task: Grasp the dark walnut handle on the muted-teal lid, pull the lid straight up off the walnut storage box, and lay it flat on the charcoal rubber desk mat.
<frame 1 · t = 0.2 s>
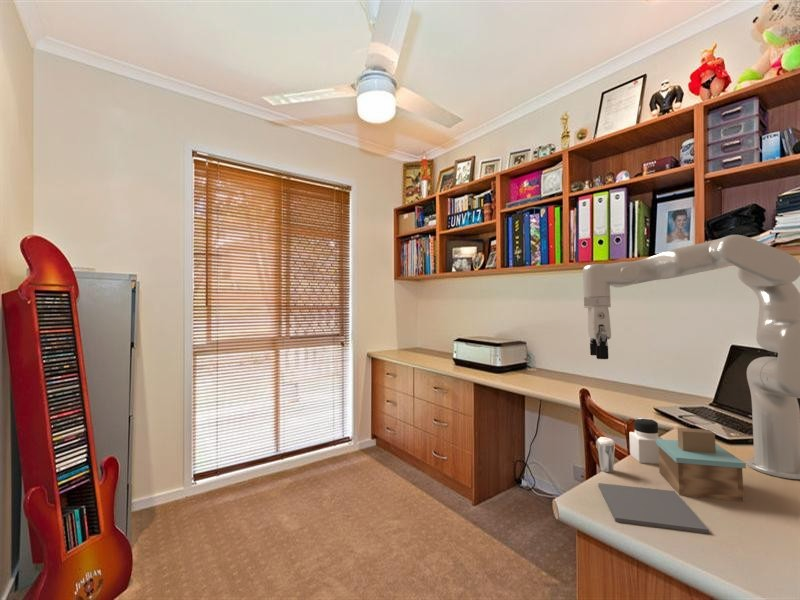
hand: (599, 357, 118), 31 cm above the table, tool pointing down, fingers open, 9 cm apart
lid: (696, 454, 97), point 8 cm above the table, touching storage box
storage box: (698, 486, 96), on the table
desk mat: (646, 507, 87), on the table
medicine bottle: (647, 459, 114), on the table
milkshake: (605, 471, 107), on the table
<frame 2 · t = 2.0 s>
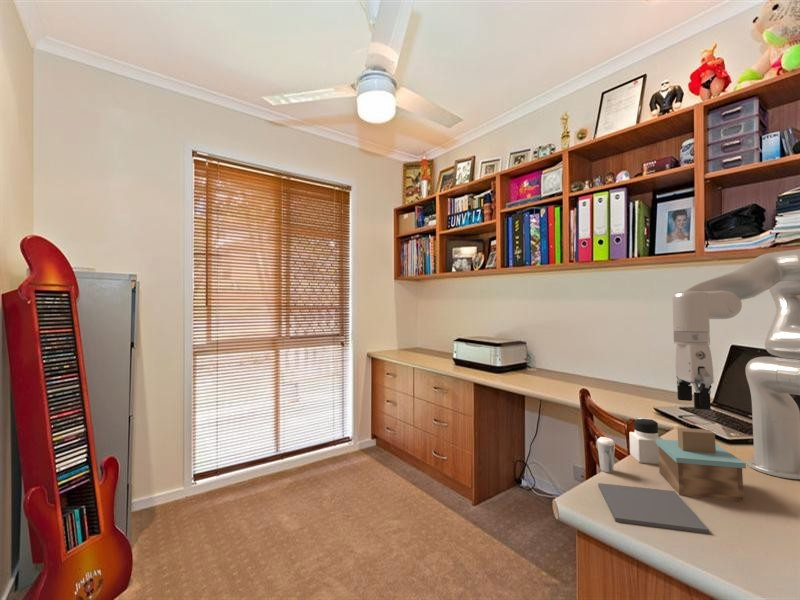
hand: (693, 404, 97), 21 cm above the table, tool pointing down, fingers open, 9 cm apart
nothing on the table moved.
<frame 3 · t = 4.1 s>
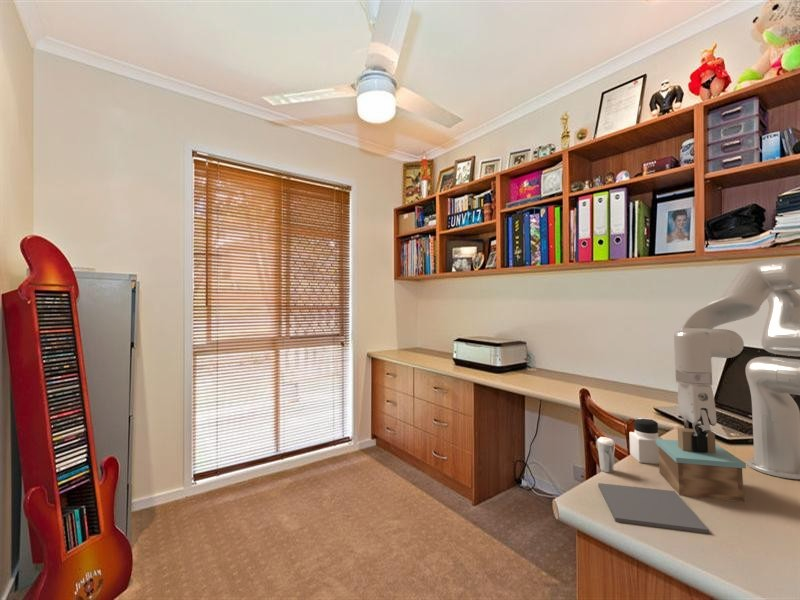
hand: (696, 448, 97), 10 cm above the table, tool pointing down, fingers closed on lid, 3 cm apart
lid: (696, 454, 97), point 8 cm above the table, touching gripper, storage box
everything else where it was.
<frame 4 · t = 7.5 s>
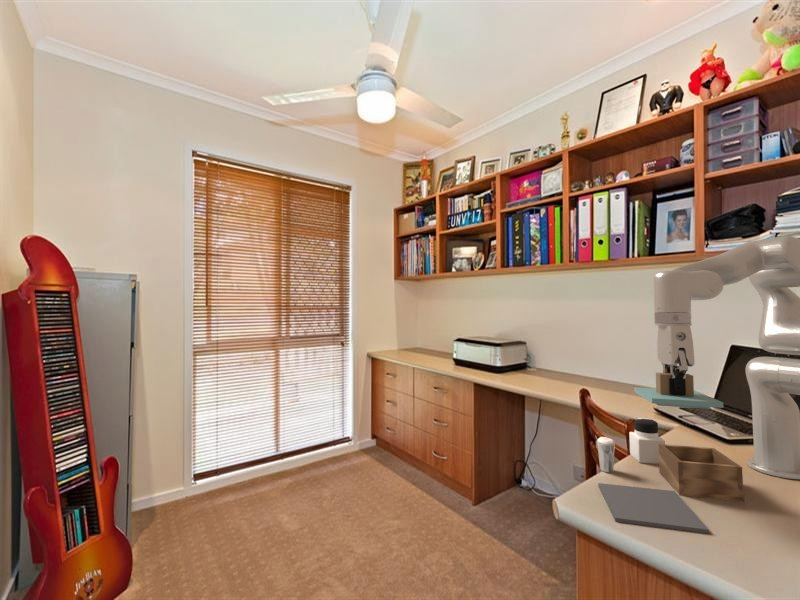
hand: (674, 392, 93), 25 cm above the table, tool pointing down, fingers closed on lid, 3 cm apart
lid: (674, 399, 93), point 23 cm above the table, touching gripper
everything else where it was.
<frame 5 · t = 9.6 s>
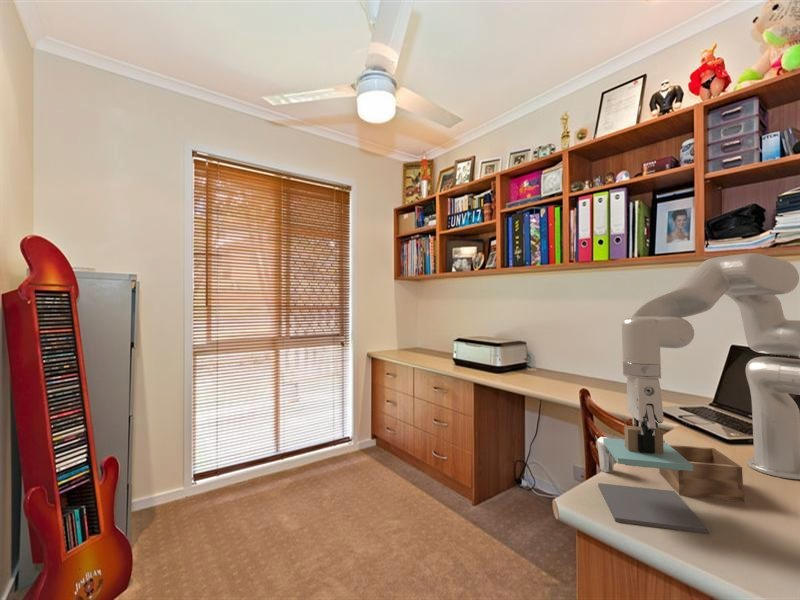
hand: (643, 448, 87), 13 cm above the table, tool pointing down, fingers closed on lid, 3 cm apart
lid: (643, 455, 87), point 12 cm above the table, touching gripper
everything else where it was.
when the fingers open (5 cm above the table, at t = 11.2 s): lid drops 2 cm, resting on desk mat.
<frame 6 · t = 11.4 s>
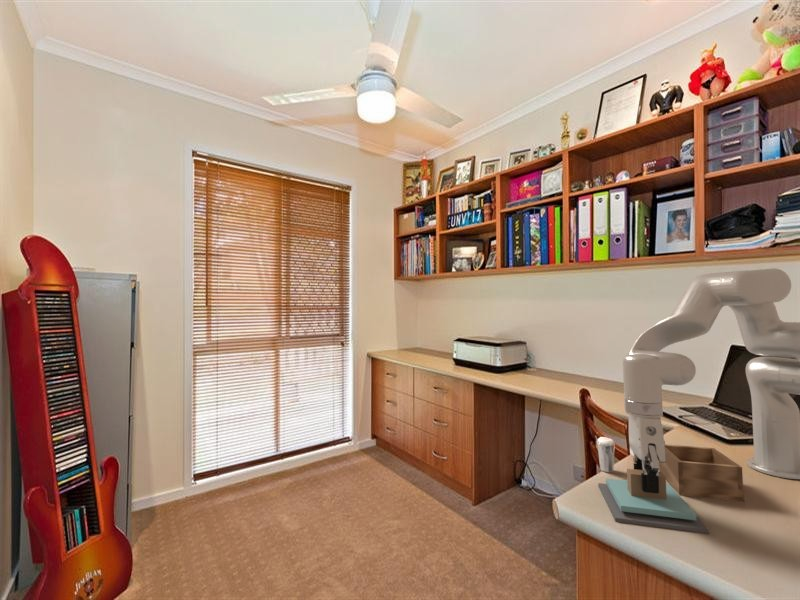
hand: (646, 485, 87), 5 cm above the table, tool pointing down, fingers open, 4 cm apart
lid: (646, 499, 87), point 2 cm above the table, touching desk mat
everything else where it was.
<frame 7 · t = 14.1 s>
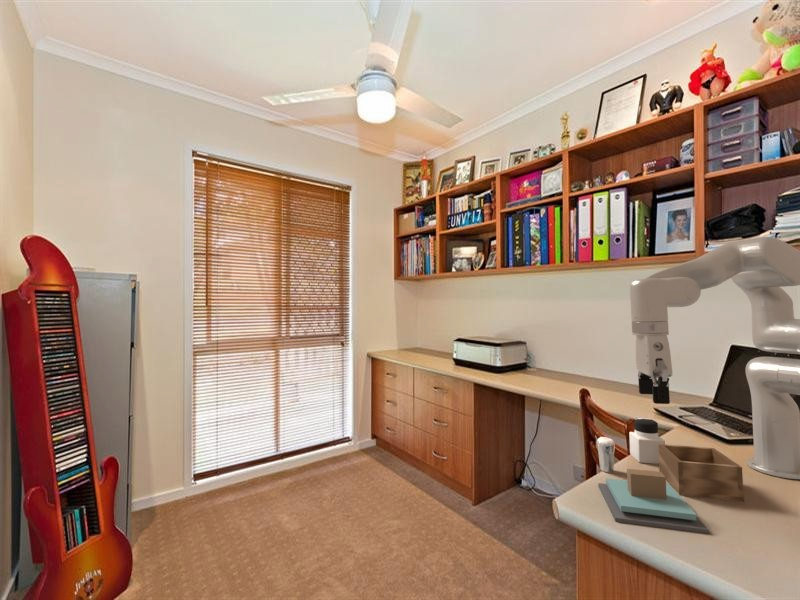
hand: (653, 398, 92), 24 cm above the table, tool pointing down, fingers open, 9 cm apart
nothing on the table moved.
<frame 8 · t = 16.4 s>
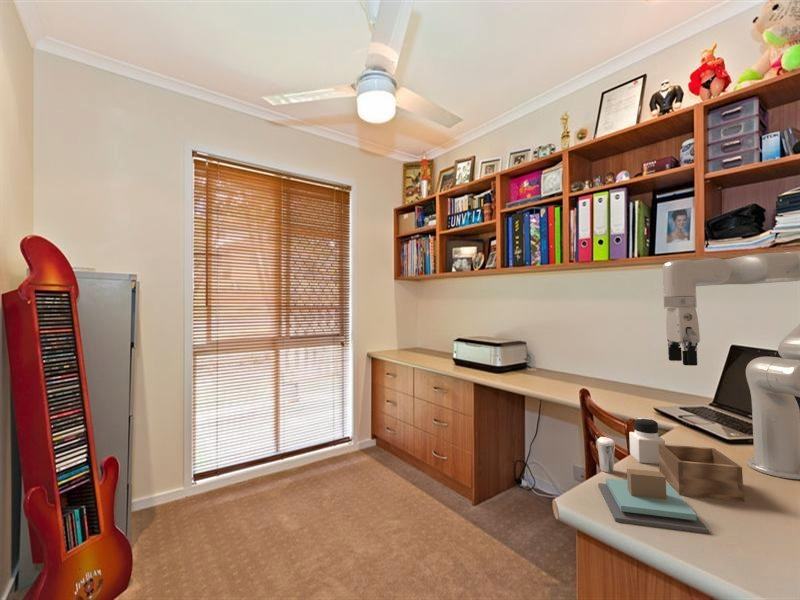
hand: (682, 362, 107), 30 cm above the table, tool pointing down, fingers open, 9 cm apart
nothing on the table moved.
at the end: lid inside the target area on the desk mat (0.1 cm from its centre), point 1.6 cm above the desk mat's base; lid tilted 0°; the gripper is holding nothing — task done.
